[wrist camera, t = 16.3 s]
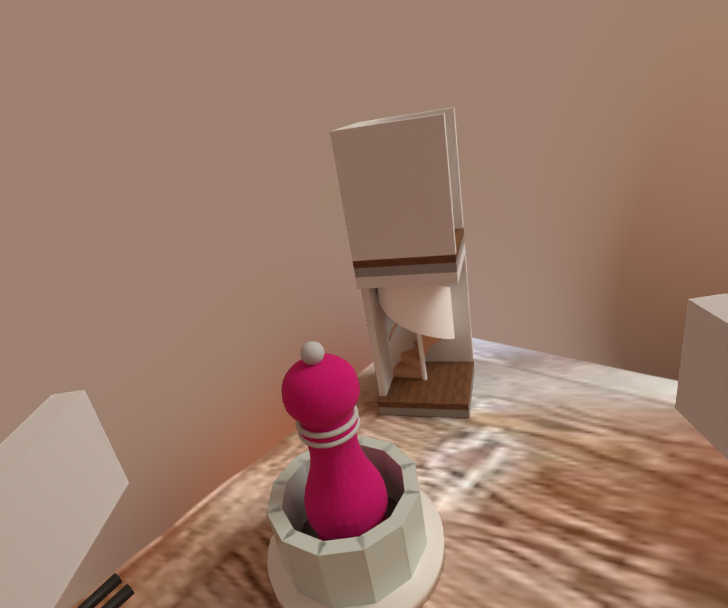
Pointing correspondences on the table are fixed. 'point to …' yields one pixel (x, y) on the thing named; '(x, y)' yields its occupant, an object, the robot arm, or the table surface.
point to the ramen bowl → (106, 589)
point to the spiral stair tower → (410, 258)
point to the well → (356, 543)
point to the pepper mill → (333, 446)
